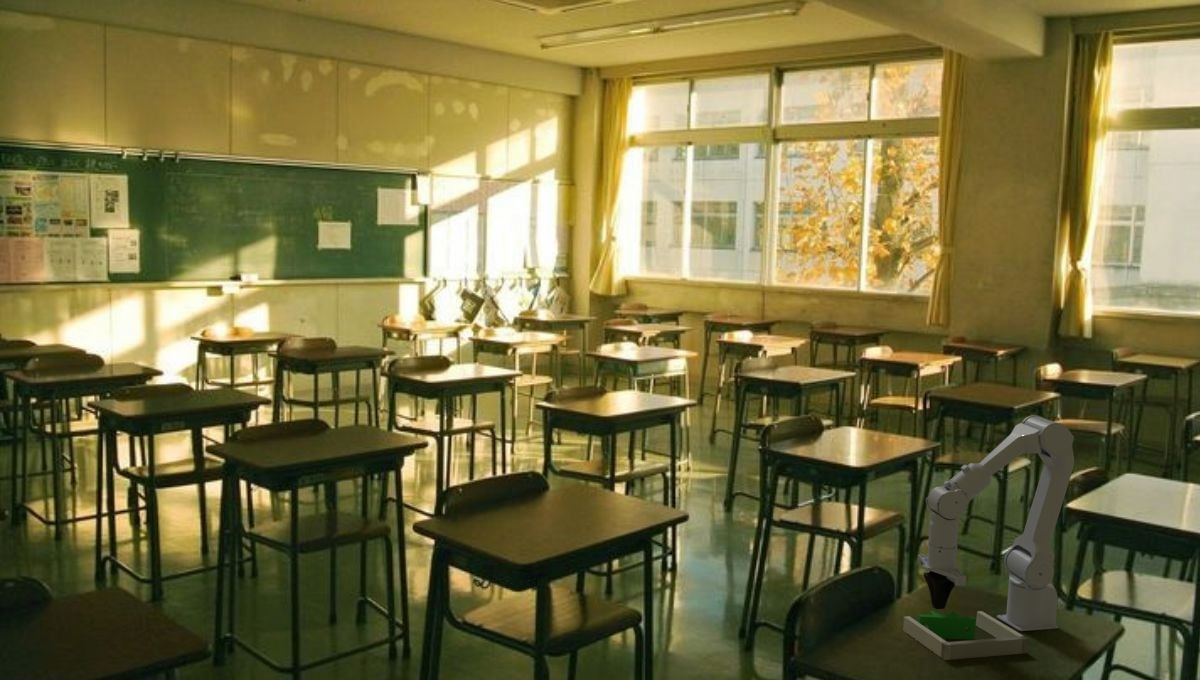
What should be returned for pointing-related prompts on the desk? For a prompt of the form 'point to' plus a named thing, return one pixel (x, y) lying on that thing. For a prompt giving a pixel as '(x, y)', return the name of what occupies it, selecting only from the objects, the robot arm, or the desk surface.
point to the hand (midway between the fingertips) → (938, 607)
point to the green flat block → (949, 625)
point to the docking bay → (1000, 645)
